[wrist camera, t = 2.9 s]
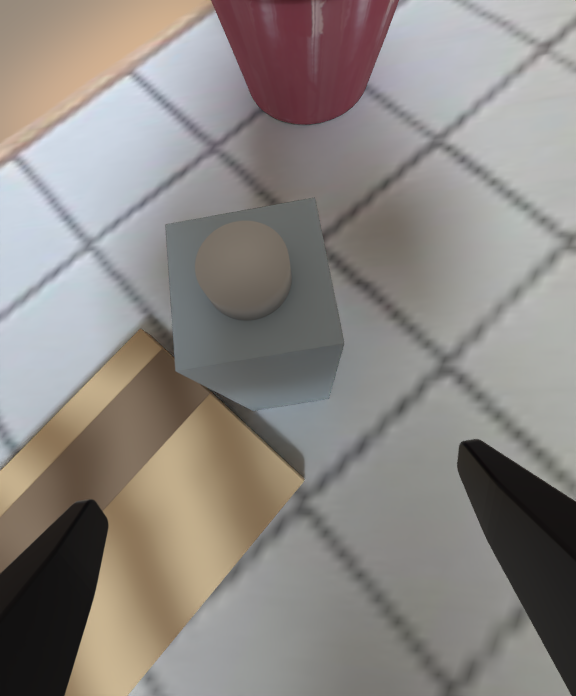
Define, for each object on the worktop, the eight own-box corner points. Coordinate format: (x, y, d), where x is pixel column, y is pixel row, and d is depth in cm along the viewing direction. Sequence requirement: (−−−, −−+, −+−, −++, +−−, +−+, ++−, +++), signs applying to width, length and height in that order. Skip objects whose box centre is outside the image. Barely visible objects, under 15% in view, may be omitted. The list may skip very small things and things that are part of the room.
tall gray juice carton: (328, 398, 21) (347, 331, 8) (252, 410, 21) (159, 363, 8) (315, 326, 22) (315, 172, 10) (243, 338, 22) (150, 202, 10)
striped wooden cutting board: (75, 756, 17) (57, 780, 16) (-65, 554, 20) (-91, 561, 19) (304, 478, 20) (304, 481, 19) (149, 334, 23) (139, 328, 21)
